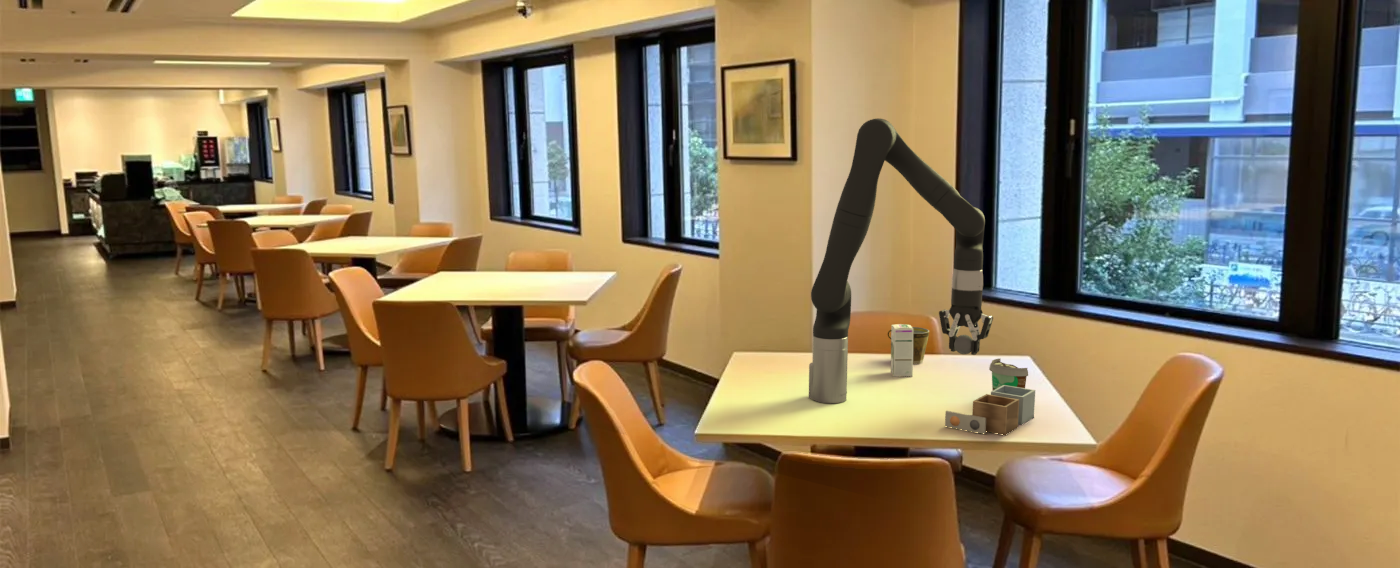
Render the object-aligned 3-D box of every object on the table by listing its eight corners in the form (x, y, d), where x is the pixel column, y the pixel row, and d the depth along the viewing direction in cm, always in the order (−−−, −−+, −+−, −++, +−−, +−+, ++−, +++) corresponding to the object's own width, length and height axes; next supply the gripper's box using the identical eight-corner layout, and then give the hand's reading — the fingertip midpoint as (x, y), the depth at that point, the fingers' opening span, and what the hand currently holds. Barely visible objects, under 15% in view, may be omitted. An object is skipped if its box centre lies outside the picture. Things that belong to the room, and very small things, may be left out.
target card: (944, 427, 246) (945, 411, 245) (946, 426, 247) (946, 410, 246) (984, 434, 240) (985, 418, 239) (985, 434, 241) (986, 417, 240)
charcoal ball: (950, 354, 258) (951, 335, 257) (958, 350, 262) (959, 332, 261) (969, 357, 255) (970, 337, 254) (977, 353, 259) (978, 334, 258)
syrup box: (913, 376, 294) (914, 327, 292) (892, 376, 294) (894, 327, 292) (909, 372, 300) (911, 323, 297) (889, 372, 300) (890, 323, 297)
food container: (978, 395, 274) (979, 359, 272) (997, 393, 276) (999, 357, 274) (1007, 407, 263) (1009, 370, 261) (1026, 405, 265) (1028, 368, 263)
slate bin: (989, 418, 253) (990, 391, 252) (1002, 411, 259) (1003, 384, 258) (1021, 424, 248) (1023, 397, 247) (1033, 417, 254) (1035, 390, 253)
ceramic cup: (932, 360, 314) (933, 329, 312) (921, 367, 305) (922, 334, 304) (892, 355, 321) (893, 324, 319) (880, 361, 312) (881, 330, 311)
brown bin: (971, 429, 244) (973, 401, 243) (985, 421, 251) (986, 394, 250) (1004, 435, 239) (1006, 407, 238) (1017, 427, 246) (1019, 399, 245)
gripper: (934, 285, 257) (931, 351, 260) (988, 291, 248) (985, 359, 251) (946, 282, 263) (943, 346, 265) (1000, 287, 254) (996, 354, 257)
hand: (963, 352), depth 258 cm, fingers closed on charcoal ball, 5 cm apart
